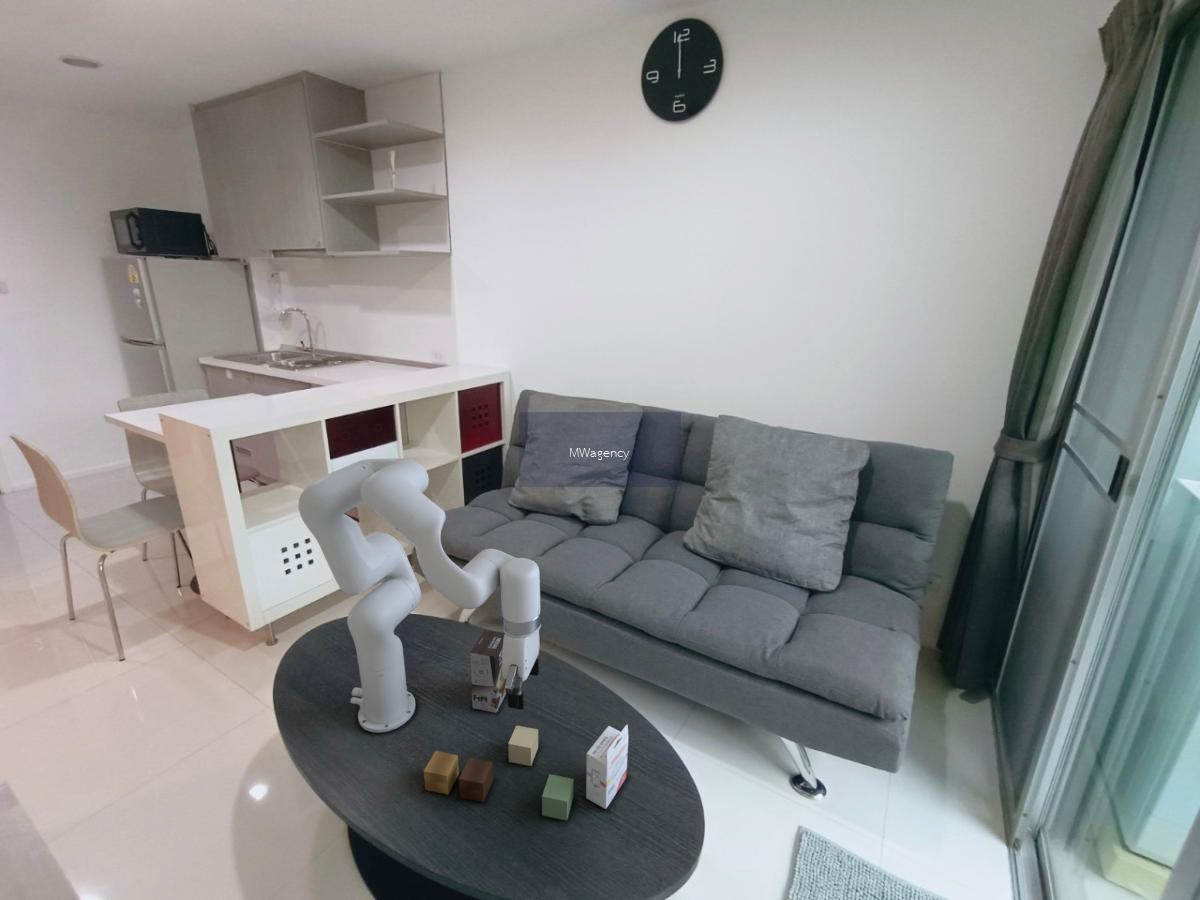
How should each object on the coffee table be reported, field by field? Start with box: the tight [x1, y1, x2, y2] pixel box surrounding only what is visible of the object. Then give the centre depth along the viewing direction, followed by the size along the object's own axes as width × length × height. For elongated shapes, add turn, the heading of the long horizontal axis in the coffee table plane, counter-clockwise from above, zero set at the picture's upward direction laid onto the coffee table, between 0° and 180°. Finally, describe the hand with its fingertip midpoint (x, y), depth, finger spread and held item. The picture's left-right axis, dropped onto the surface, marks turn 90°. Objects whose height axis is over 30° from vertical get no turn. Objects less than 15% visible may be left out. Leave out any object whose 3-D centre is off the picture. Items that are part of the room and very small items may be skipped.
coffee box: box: [469, 629, 507, 714], centre depth 132 cm, size 9×6×16 cm
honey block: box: [423, 750, 460, 796], centre depth 112 cm, size 5×5×5 cm
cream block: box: [507, 724, 539, 767], centre depth 119 cm, size 5×5×5 cm
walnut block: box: [458, 757, 494, 803], centre depth 110 cm, size 5×5×5 cm
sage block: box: [541, 773, 575, 822], centre depth 107 cm, size 5×5×5 cm
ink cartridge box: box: [585, 724, 630, 810], centre depth 110 cm, size 9×5×15 cm, turn 148°
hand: (524, 690), depth 114 cm, fingers open, 9 cm apart
